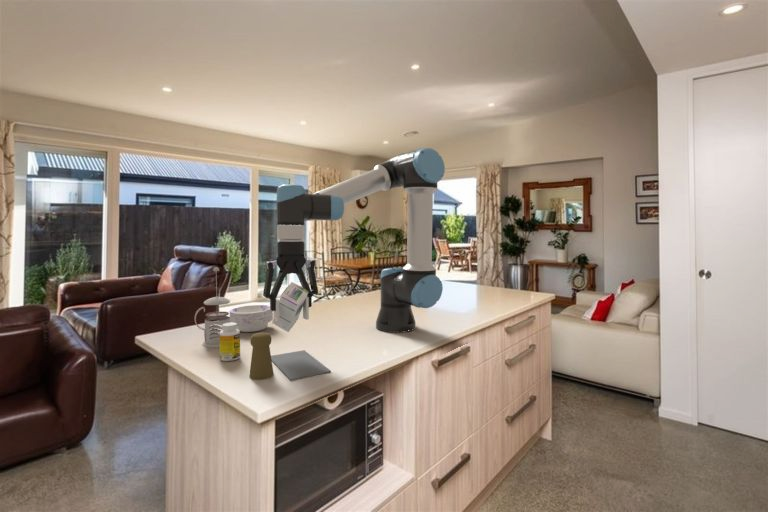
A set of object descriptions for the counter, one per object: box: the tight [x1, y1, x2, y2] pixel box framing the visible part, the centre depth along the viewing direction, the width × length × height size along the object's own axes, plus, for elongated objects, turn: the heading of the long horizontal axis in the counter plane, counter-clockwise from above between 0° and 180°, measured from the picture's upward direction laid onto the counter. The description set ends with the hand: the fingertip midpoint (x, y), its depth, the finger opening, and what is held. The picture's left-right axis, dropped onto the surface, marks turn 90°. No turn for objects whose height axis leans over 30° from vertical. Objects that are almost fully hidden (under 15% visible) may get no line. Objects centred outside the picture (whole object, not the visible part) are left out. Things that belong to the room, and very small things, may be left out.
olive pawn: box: [249, 331, 275, 381], centre depth 100 cm, size 6×6×11 cm
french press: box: [194, 266, 231, 348], centre depth 127 cm, size 10×12×25 cm
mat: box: [271, 349, 332, 382], centre depth 108 cm, size 20×11×1 cm, turn 32°
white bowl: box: [228, 304, 274, 333], centre depth 145 cm, size 15×15×8 cm
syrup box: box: [271, 281, 308, 333], centre depth 112 cm, size 6×6×14 cm
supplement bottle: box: [219, 322, 241, 362], centre depth 113 cm, size 6×6×10 cm
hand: (291, 320), depth 111 cm, fingers closed on syrup box, 8 cm apart
